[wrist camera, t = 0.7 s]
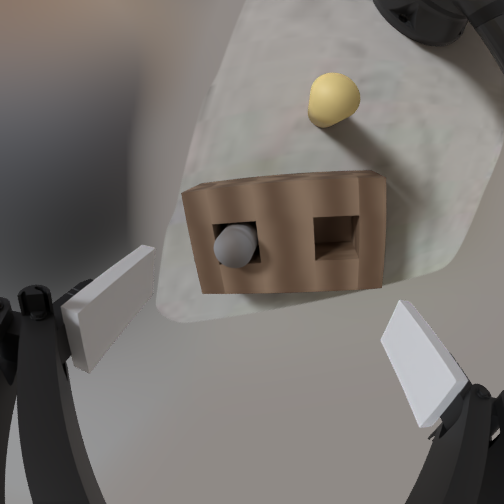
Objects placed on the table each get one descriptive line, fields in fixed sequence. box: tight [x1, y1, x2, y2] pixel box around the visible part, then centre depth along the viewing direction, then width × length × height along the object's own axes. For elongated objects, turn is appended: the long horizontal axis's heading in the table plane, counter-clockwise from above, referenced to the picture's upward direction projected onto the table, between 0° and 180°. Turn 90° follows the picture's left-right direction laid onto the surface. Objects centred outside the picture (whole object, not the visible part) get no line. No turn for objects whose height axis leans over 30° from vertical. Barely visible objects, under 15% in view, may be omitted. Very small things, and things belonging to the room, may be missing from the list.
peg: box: [308, 73, 360, 128], centre depth 25 cm, size 4×4×15 cm
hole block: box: [181, 170, 386, 294], centre depth 35 cm, size 24×14×9 cm, turn 97°
